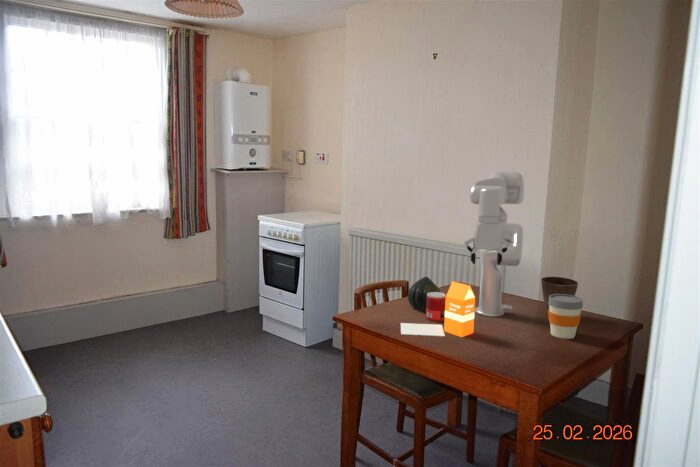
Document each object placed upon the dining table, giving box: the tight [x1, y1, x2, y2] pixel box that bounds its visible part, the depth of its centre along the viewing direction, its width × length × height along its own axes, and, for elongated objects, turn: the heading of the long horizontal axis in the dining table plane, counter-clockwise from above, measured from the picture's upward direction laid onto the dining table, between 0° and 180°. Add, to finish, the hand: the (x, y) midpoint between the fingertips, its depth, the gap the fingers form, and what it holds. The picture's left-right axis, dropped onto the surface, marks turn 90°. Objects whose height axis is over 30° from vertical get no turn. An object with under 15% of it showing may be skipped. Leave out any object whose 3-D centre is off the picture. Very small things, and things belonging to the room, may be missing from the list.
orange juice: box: [443, 280, 476, 338], centre depth 204 cm, size 8×9×20 cm
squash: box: [407, 276, 442, 312], centre depth 235 cm, size 14×15×15 cm
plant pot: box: [541, 276, 579, 317], centre depth 226 cm, size 15×15×16 cm
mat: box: [400, 322, 446, 337], centre depth 207 cm, size 17×13×1 cm
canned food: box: [425, 291, 447, 323], centre depth 220 cm, size 8×8×11 cm
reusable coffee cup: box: [548, 294, 584, 340], centre depth 203 cm, size 13×13×15 cm
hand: (485, 263), depth 200 cm, fingers open, 9 cm apart
